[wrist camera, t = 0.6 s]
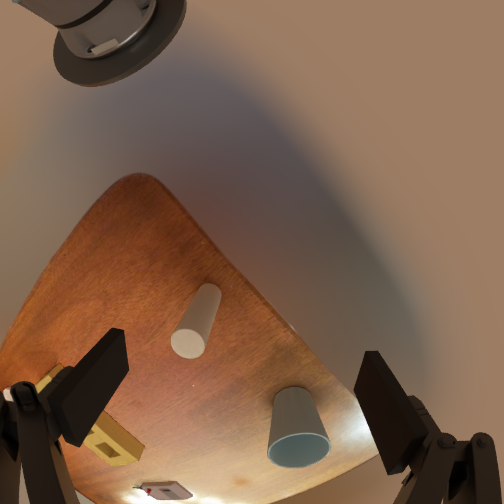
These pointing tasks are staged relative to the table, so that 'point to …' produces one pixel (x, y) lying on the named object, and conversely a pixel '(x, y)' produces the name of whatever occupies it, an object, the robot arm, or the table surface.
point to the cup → (296, 430)
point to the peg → (197, 322)
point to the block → (105, 434)
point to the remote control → (165, 490)
